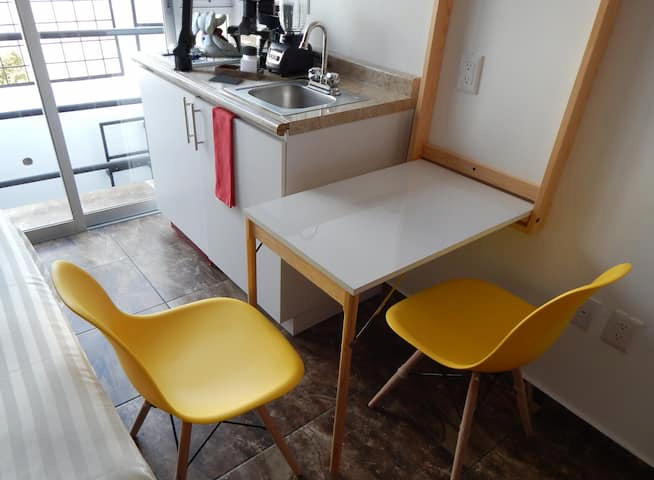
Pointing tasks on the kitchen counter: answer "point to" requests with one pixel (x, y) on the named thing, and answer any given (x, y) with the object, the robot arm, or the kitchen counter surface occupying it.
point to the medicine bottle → (250, 59)
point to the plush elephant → (213, 36)
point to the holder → (237, 72)
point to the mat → (226, 79)
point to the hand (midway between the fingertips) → (249, 54)
